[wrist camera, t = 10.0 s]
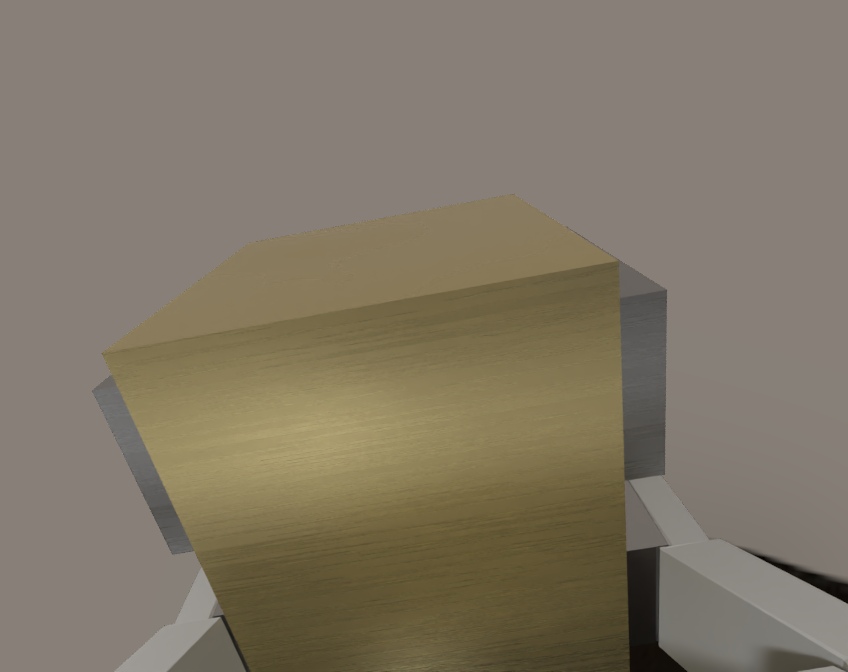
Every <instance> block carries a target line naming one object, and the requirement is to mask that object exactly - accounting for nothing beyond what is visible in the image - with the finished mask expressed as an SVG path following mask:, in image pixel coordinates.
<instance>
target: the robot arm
mask: <svg viewBox="0 0 848 672" xmlns="http://www.w3.org/2000/svg"><path fill="white" fill-rule="evenodd" d="M625 513H626V550H627V587H628V624H629V646H636V645H644V644H652V643H659V647H660V648H662V649H663V650H664V651H665V652H666V653H667V654H668V655H669V656H671V657H672V658H673V659H674V660H675V661H676V662H677V663H679V664H680V665H681V666H682V667H683V668H684V669H685V670H686V671H688V672H848V604H847V603H845V602H843V601H841V600H839V599H837V598H835V597H833V596H831V595H829V594H827V593H825V592H824V591H822V590H820V589H818V588H816V587H814V586H812V585H810V584H808V583H806V582H804V581H802V580H800V579H798V578H796V577H794V576H792V575H791V574H789V573H787V572H785V571H783V570H781V569H779V568H777V567H775V566H773V565H771V564H769V563H767V562H765V561H763V560H761V559H759V558H757V557H756V556H754V555H752V554H750V553H748V552H746V551H744V550H742V549H740V548H738V547H736V546H734V545H732V544H730V543H728V542H726V541H724V540H722V539H713V540H710V539H709V538H708V537H707V535H706V534H705V533H704V531H703V530H702V529H701V527H700V526H699V525H698V523H697V522H696V521H695V519H694V518H693V517H692V515H691V514H690V513H689V511H688V510H687V509H686V507H685V506H684V504H683V503H682V502H681V500H680V499H679V498H678V496H677V495H676V494H675V493H674V491H673V490H672V488H671V487H670V486H669V485H668V483H667V482H666V480H665V479H664V478H663V476H662V475H659V476H652V477H646V478H640V479H634V480H628V481H625ZM114 672H251V671H250V669H249V667H248V665H247V662H246V660H245V658H244V656H243V654H242V652H241V650H240V647H239V645H238V643H237V641H236V639H235V637H234V635H233V633H232V630H231V628H230V626H229V624H228V622H227V620H226V618H225V615H224V613H223V611H222V609H221V607H220V605H219V603H218V600H217V598H216V596H215V594H214V592H213V590H212V588H211V586H210V583H209V581H208V579H207V577H206V575H205V573H204V571H203V568H202V566H201V568H200V570H199V572H198V574H197V576H196V578H195V581H194V583H193V585H192V587H191V589H190V591H189V594H188V595H187V598H186V600H185V602H184V604H183V606H182V608H181V610H180V612H179V615H178V617H177V619H176V621H175V623H174V624H171V625H166V626H164V627H162V628H161V629H160V630H159V631H158V632H157V633H156V634H155V635H154V636H152V637H151V638H150V639H149V640H148V641H147V642H146V643H145V644H144V645H143V646H141V647H140V648H139V649H138V650H137V651H136V652H135V653H134V654H133V655H132V656H130V657H129V658H128V659H127V660H126V661H125V662H124V663H123V664H122V665H121V666H120V667H118V668H117V669H116V670H115V671H114Z"/></svg>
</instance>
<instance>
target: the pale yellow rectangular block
mask: <svg viewBox="0 0 848 672" xmlns="http://www.w3.org/2000/svg"><path fill="white" fill-rule="evenodd" d="M666 314H667V290H666V289H665V288H663V287H661V286H660V285H658V284H657V283H655V282H654V281H652V280H650V279H649V278H647V277H646V276H644V275H643V274H641V273H639V272H638V271H636V270H635V269H633V268H631V267H630V266H628V265H627V264H625V263H623V262H622V261H620V260H619V259H617V258H615V257H614V256H612V255H611V254H609V253H607V252H606V251H604V250H603V249H601V248H599V247H598V246H596V245H595V244H593V243H592V242H590V241H588V240H587V239H585V238H584V237H582V236H580V235H579V234H577V233H576V232H574V231H572V230H571V229H569V228H568V227H565V226H563V225H561V224H560V223H558V222H557V221H555V220H554V219H552V218H550V217H549V216H547V215H546V214H544V213H543V212H541V211H539V210H538V209H536V208H535V207H533V206H531V205H530V204H528V203H527V202H525V201H524V200H522V199H521V198H519V197H517V196H516V195H514V194H510V195H505V196H500V197H494V198H489V199H483V200H478V201H473V202H467V203H462V204H456V205H451V206H446V207H440V208H435V209H429V210H424V211H419V212H413V213H408V214H402V215H397V216H392V217H386V218H380V219H375V220H370V221H364V222H359V223H354V224H348V225H343V226H338V227H332V228H326V229H321V230H316V231H310V232H305V233H300V234H294V235H289V236H283V237H278V238H272V239H267V240H262V241H256V242H251V243H249V244H247V245H246V246H245V247H243V248H242V249H241V250H239V251H238V252H237V253H235V254H234V255H233V256H231V257H230V258H229V259H228V260H226V261H224V262H223V263H222V264H220V265H219V266H218V267H216V268H215V269H214V270H213V271H211V272H210V273H209V274H207V275H206V276H205V277H203V278H202V279H200V280H199V281H198V282H196V283H195V284H194V285H192V286H191V287H190V288H188V289H187V290H186V291H184V292H183V293H182V294H180V295H179V296H178V297H176V298H175V299H174V300H172V301H171V302H170V303H168V304H167V305H166V306H164V307H163V308H162V309H160V310H159V311H158V312H156V313H155V314H154V315H152V316H151V317H150V318H148V319H147V320H145V321H144V322H143V323H141V324H140V325H139V326H137V327H136V328H135V329H133V330H132V331H131V332H129V333H128V334H127V335H125V336H124V337H123V338H121V339H120V340H119V341H117V342H116V343H115V344H114V345H112V346H111V347H109V348H108V349H107V350H105V351H104V352H103V353H102V355H103V357H104V359H105V361H106V363H107V365H108V367H109V370H110V372H111V376H109V377H108V378H107V379H105V380H104V381H103V382H102V383H101V384H100V385H98V386H97V387H96V388H95V389H94V390H92V392H93V394H94V396H95V398H96V400H97V402H98V404H99V406H100V408H101V410H102V412H103V414H104V416H105V418H106V420H107V423H108V425H109V427H110V429H111V431H112V433H113V435H114V436H115V439H116V441H117V443H118V445H119V447H120V449H121V451H122V453H123V455H124V457H125V459H126V461H127V463H128V465H129V467H130V469H131V471H132V473H133V475H134V477H135V479H136V482H137V484H138V485H139V487H140V489H141V491H142V493H143V496H144V498H145V500H146V502H147V504H148V506H149V507H150V510H151V512H152V514H153V516H154V518H155V520H156V522H157V524H158V526H159V528H160V530H161V532H162V534H163V536H164V538H165V540H166V542H167V544H168V547H169V549H170V551H171V553H172V554H178V553H185V552H191V551H195V553H196V556H197V558H198V560H199V562H200V564H201V566H202V568H203V571H204V573H205V575H206V577H207V579H208V581H209V583H210V586H211V588H212V590H213V592H214V594H215V596H216V598H217V600H218V603H219V605H220V607H221V609H222V611H223V613H224V615H225V618H226V620H227V622H228V624H229V626H230V628H231V630H232V633H233V635H234V637H235V639H236V641H237V643H238V645H239V647H240V650H241V652H242V654H243V656H244V658H245V660H246V662H247V665H248V667H249V669H250V671H251V672H630V661H629V624H628V587H627V550H626V513H625V481H628V480H634V479H640V478H646V477H652V476H659V475H664V474H665V407H666V405H665V404H666V402H665V401H666V319H667V315H666Z"/></svg>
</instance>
